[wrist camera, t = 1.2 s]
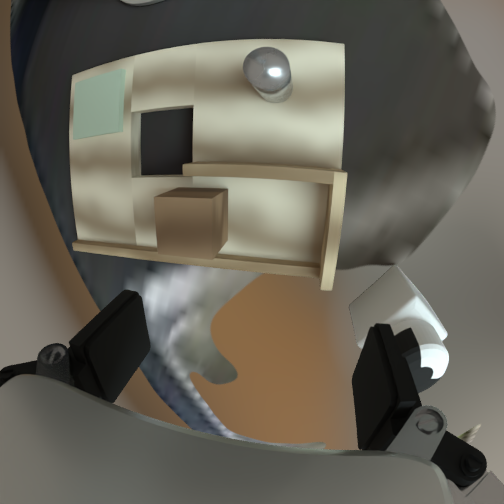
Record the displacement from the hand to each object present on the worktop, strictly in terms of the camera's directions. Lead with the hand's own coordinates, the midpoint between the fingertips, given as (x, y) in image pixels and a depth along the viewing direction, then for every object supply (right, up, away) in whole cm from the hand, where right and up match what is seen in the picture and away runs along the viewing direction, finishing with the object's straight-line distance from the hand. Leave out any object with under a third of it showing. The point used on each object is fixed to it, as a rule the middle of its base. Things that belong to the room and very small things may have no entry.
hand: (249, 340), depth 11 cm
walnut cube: (-5, +7, +16) cm, 18 cm away
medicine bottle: (+16, -2, +18) cm, 24 cm away
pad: (-16, +19, +13) cm, 29 cm away
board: (-6, +14, +16) cm, 22 cm away
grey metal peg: (+2, +18, +11) cm, 21 cm away
